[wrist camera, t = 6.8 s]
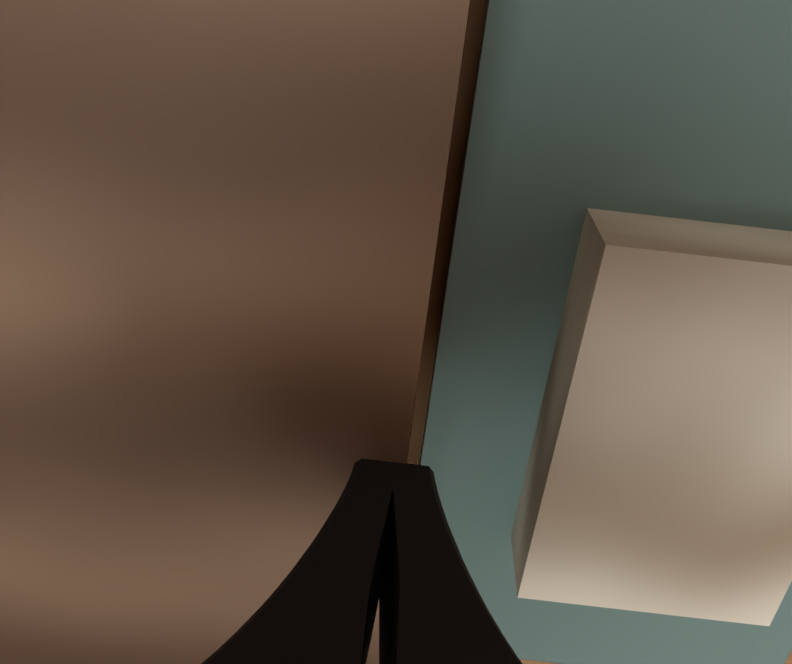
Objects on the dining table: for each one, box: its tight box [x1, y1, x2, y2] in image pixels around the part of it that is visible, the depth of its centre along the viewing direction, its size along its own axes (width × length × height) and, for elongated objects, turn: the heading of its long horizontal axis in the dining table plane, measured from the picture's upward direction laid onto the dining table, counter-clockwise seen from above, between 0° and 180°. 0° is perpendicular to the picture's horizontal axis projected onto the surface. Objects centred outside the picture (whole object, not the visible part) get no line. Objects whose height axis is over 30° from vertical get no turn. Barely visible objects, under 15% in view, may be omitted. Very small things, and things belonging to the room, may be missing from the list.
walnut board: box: [0, 0, 470, 664], centre depth 16 cm, size 18×12×4 cm, turn 174°
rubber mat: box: [420, 0, 792, 664], centre depth 18 cm, size 18×11×1 cm, turn 174°
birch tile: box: [511, 208, 792, 626], centre depth 16 cm, size 9×6×2 cm, turn 174°
